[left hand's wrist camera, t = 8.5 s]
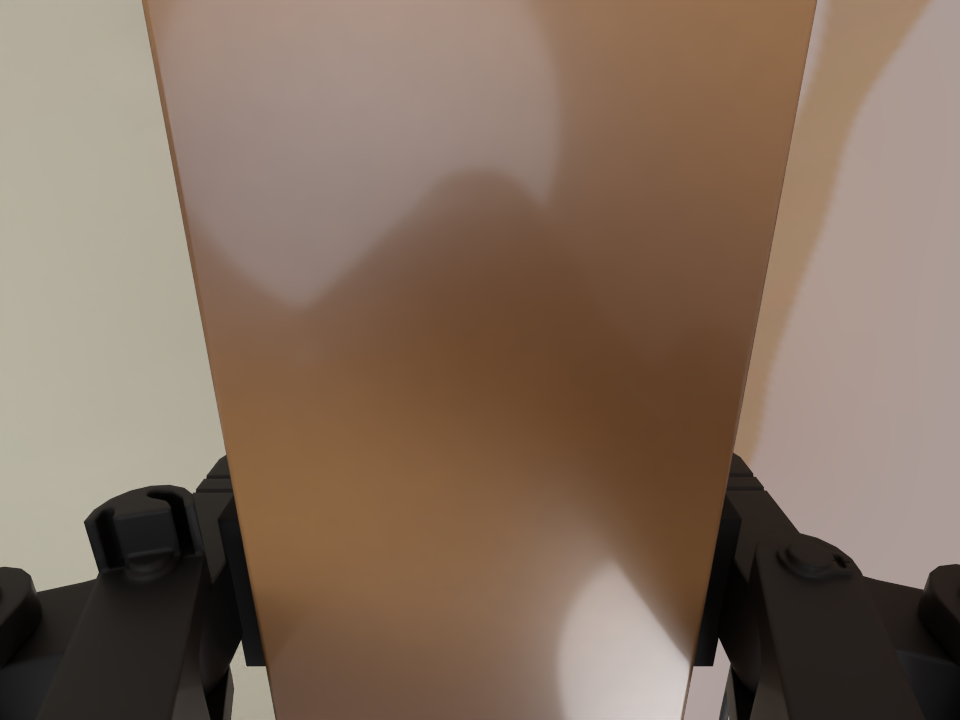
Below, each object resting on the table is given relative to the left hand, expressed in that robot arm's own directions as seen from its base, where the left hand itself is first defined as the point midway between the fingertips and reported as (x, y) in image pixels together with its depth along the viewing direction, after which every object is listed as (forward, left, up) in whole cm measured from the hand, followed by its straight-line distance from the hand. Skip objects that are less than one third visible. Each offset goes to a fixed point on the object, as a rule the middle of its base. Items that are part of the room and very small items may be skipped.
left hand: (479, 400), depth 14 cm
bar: (+27, 0, -1) cm, 27 cm away
